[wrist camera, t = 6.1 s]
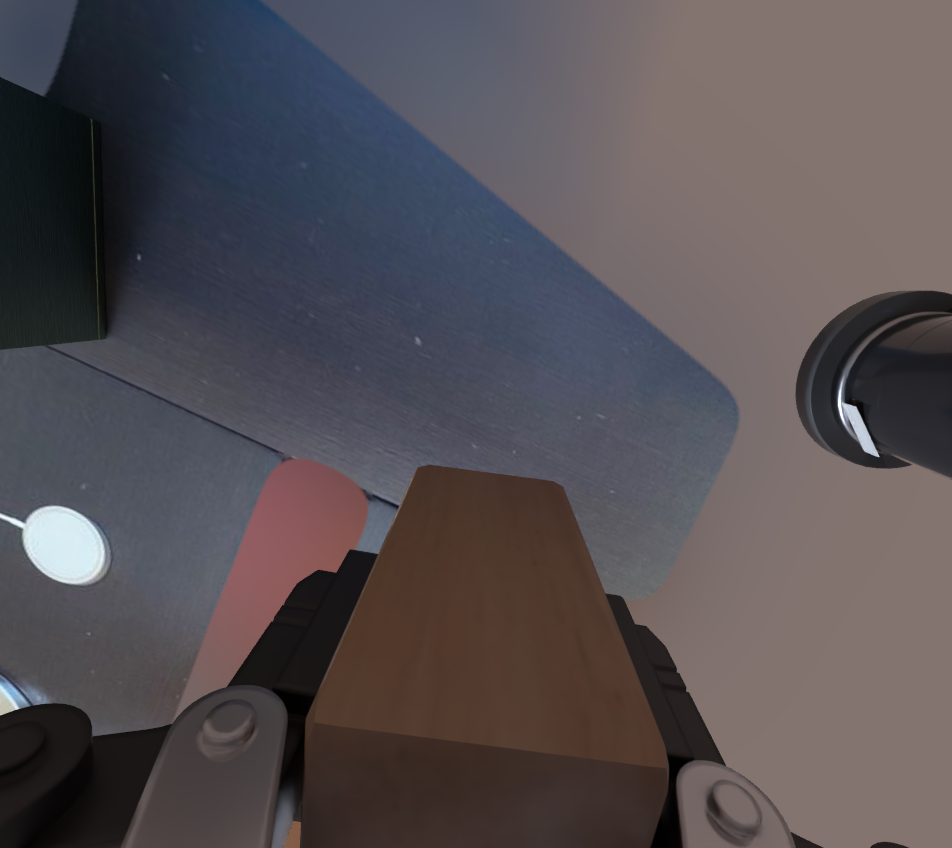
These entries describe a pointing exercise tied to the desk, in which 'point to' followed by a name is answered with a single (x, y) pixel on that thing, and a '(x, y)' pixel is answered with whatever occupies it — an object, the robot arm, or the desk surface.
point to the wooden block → (482, 686)
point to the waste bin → (49, 223)
